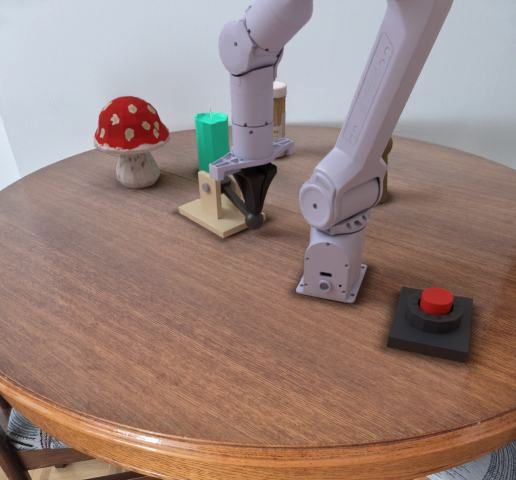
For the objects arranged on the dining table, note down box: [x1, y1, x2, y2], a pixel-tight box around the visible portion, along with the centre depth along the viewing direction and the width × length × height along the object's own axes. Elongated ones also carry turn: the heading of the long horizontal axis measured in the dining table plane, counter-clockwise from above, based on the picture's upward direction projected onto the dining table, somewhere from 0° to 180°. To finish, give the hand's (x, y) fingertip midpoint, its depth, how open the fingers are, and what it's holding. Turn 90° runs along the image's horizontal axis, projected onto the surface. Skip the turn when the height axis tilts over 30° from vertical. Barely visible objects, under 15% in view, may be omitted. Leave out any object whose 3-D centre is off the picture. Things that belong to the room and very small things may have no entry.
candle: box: [193, 107, 231, 174], centre depth 100 cm, size 6×6×12 cm
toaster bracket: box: [178, 170, 267, 239], centre depth 88 cm, size 12×9×8 cm
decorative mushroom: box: [92, 95, 172, 189], centre depth 97 cm, size 14×14×15 cm
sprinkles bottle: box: [273, 80, 288, 159], centre depth 106 cm, size 5×5×14 cm
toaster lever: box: [220, 176, 265, 231], centre depth 85 cm, size 12×3×3 cm, turn 42°
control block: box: [386, 285, 474, 364], centre depth 67 cm, size 11×9×4 cm
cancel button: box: [420, 286, 454, 316], centre depth 65 cm, size 4×4×2 cm
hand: (254, 211), depth 83 cm, fingers closed, pressing on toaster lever
